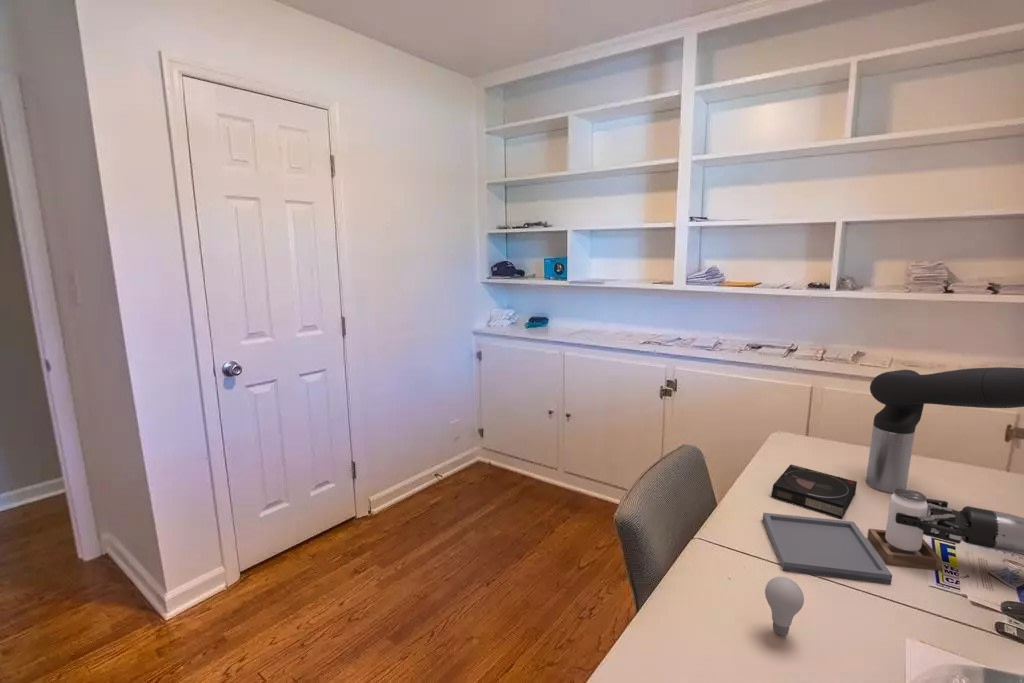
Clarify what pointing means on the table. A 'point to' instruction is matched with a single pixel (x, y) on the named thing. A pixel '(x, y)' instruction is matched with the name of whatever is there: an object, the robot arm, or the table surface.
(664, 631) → the table surface
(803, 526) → the tray
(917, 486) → the table surface
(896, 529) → the can
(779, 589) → the lightbulb
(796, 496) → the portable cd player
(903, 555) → the holder
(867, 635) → the table surface
